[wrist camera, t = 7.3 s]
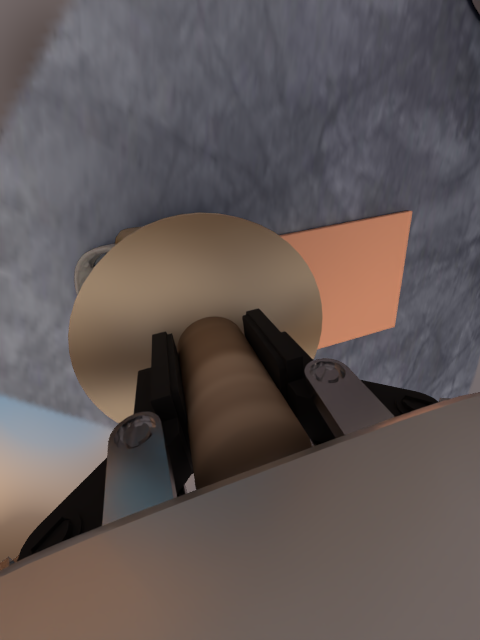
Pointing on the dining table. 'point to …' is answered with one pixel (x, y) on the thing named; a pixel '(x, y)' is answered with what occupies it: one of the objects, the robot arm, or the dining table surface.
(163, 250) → the lid
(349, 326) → the mat
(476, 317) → the dining table surface
